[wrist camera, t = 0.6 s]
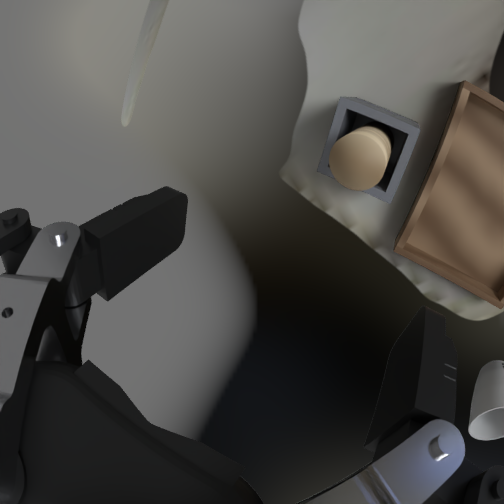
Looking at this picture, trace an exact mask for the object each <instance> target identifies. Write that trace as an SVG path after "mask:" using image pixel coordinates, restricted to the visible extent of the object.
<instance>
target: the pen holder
mask: <svg viewBox="0 0 504 504" xmlns="http://www.w3.org/2000/svg"><path fill="white" fill-rule="evenodd" d="M369 122H380V123H383V124H385V125H386V126H387V127H388V128H389V129H390V130H391V132H392V133H393V136H394V146H393V149H392V152H391V155H390V158H389V161H388V164H387V166H386V169H385V172H384V175H383V177H382V178H381V180H380V181H379V182H378V184H376V185H375V186H374V187H372V188H370V189H367V190H362V191H363V192H365V193H367V194H370V195H372V196H374V197H376V198H378V199H380V200H382V201H385V202H387V203H389V204H391V202H392V199H393V197H394V195H395V192H396V190H397V188H398V185H399V183H400V181H401V178H402V176H403V174H404V171H405V169H406V166H407V164H408V161H409V159H410V156H411V154H412V151H413V149H414V146H415V143H416V141H417V138H418V135H419V133H420V130H421V129H420V127H419V124H418V123H417V122H415V121H412V120H410V119H408V118H406V117H404V116H401V115H399V114H397V113H394V112H392V111H390V110H387V109H385V108H382V107H380V106H378V105H375V104H373V103H370V102H367V101H365V100H362V99H359V98H357V97H340V99H339V103H338V106H337V109H336V112H335V116H334V119H333V122H332V125H331V128H330V132H329V135H328V138H327V141H326V144H325V147H324V151H323V154H322V157H321V160H320V163H319V166H318V169H317V172H320V173H322V174H324V175H327V176H329V177H331V178H334V179H335V177H334V176H333V174H332V172H331V169H330V166H329V155H330V151H331V149H332V147H333V145H334V144H335V143H336V142H337V141H338V140H339V139H340V138H342V137H344V136H345V135H347V134H349V133H351V132H352V131H354V130H356V129H358V128H359V127H361V126H363V125H365V124H367V123H369Z"/></svg>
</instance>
